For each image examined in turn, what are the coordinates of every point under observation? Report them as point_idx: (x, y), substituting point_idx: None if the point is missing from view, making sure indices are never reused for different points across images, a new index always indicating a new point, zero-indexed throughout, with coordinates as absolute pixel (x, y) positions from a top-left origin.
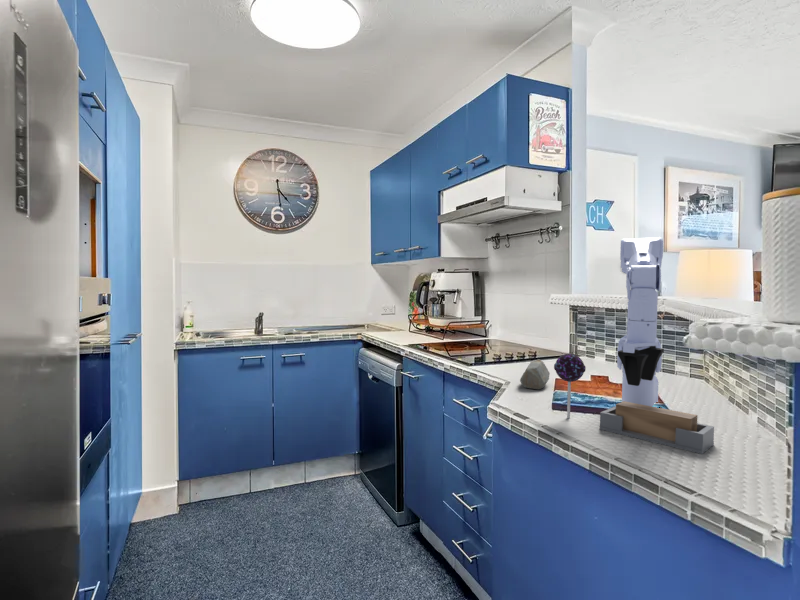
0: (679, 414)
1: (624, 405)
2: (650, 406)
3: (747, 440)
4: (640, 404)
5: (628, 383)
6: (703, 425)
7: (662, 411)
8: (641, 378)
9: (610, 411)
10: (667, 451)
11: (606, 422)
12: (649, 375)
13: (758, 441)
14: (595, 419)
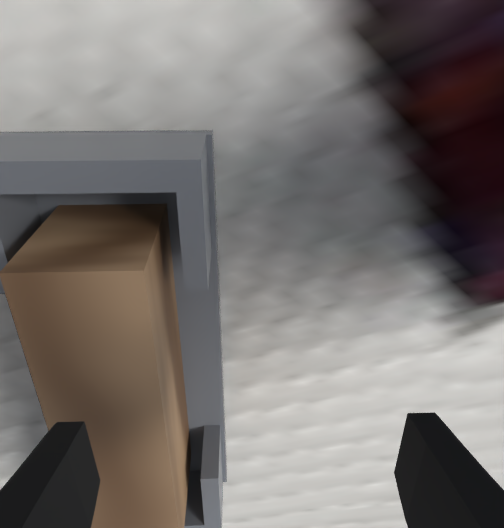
0: (119, 520)
1: (28, 319)
2: (154, 412)
3: (362, 507)
4: (153, 366)
5: (49, 434)
6: (204, 517)
7: (103, 471)
8: (410, 419)
9: (54, 192)
10: (8, 417)
11: None
12: (414, 506)
13: (374, 522)
14: (173, 7)
